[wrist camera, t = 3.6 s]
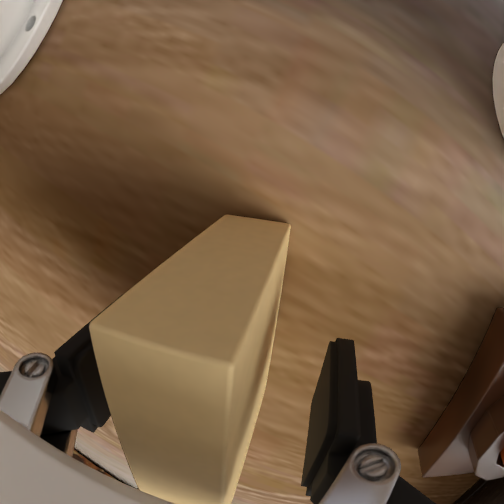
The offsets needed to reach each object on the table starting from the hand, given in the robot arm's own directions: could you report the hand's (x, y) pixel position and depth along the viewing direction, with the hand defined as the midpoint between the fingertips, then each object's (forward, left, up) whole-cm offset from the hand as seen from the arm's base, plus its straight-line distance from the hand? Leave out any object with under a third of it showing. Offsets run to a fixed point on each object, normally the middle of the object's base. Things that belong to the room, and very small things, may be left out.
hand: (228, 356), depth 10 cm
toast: (0, 0, -3) cm, 3 cm away
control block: (+3, +15, -3) cm, 16 cm away
